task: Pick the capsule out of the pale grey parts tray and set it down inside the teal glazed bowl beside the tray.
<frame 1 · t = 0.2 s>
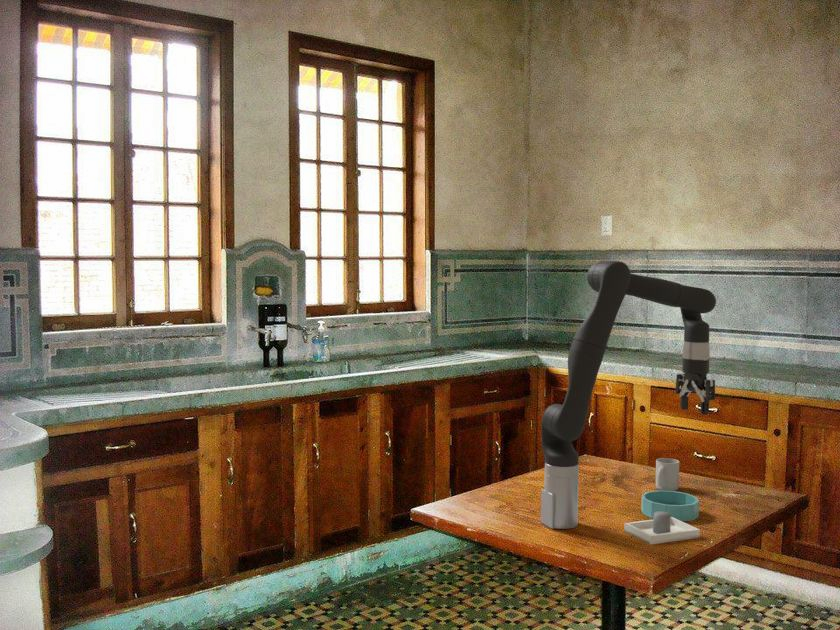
hand: (694, 411, 253), 29 cm above the table, fingers open, 8 cm apart
tray: (661, 534, 231), on the table
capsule: (661, 532, 231), point 1 cm above the table, touching tray
cup: (665, 489, 276), on the table
bowl: (669, 513, 250), on the table
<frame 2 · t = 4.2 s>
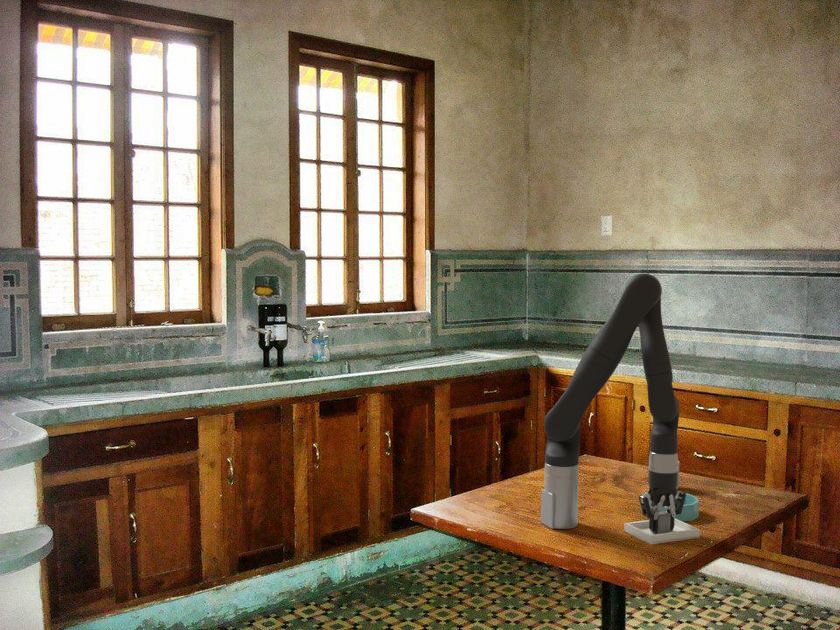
hand: (661, 531, 231), 1 cm above the table, fingers closed on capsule, 4 cm apart
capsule: (661, 532, 231), point 1 cm above the table, touching gripper, tray
everything else where it was.
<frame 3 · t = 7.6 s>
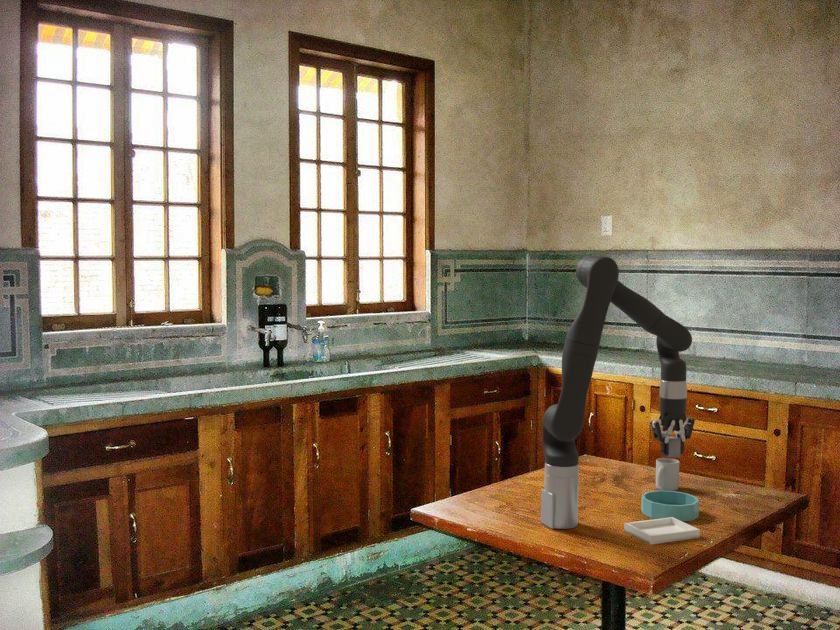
hand: (672, 454, 248), 18 cm above the table, fingers closed on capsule, 4 cm apart
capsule: (672, 455, 248), point 17 cm above the table, touching gripper
everything else where it was.
when the fingers open (4 cm above the table, at t = 11.2 s): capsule drops 3 cm, resting on bowl.
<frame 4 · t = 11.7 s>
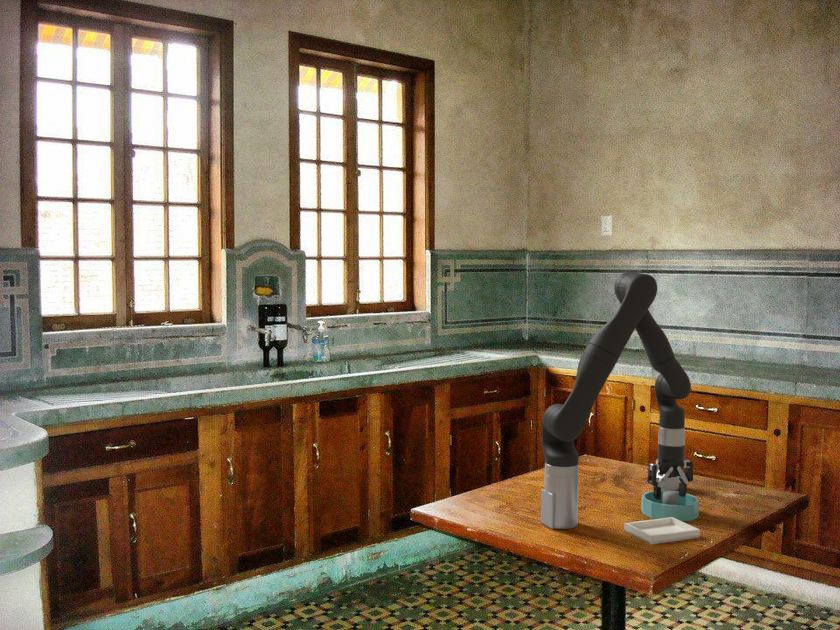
hand: (670, 497, 250), 5 cm above the table, fingers open, 8 cm apart
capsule: (670, 510, 250), point 1 cm above the table, touching bowl
everything else where it was.
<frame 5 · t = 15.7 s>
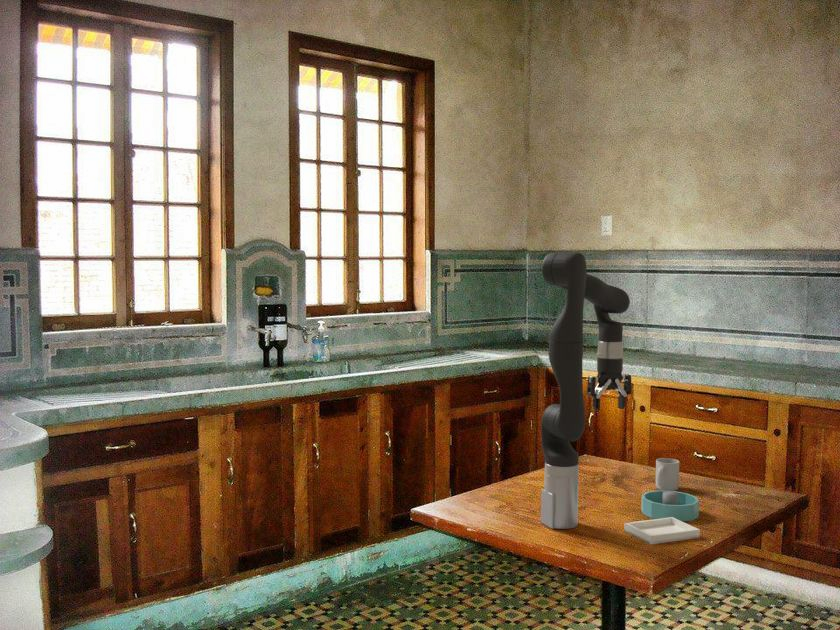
hand: (609, 409, 261), 28 cm above the table, fingers open, 8 cm apart
nothing on the table moved.
at the end: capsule inside the target area on the bowl (0.1 cm from its centre), point 0.8 cm above the bowl's base; the gripper is holding nothing; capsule touching bowl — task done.
